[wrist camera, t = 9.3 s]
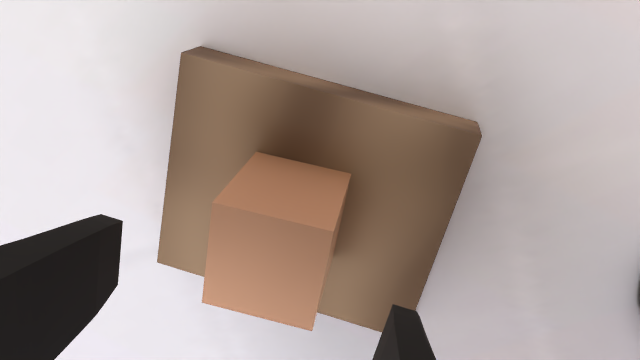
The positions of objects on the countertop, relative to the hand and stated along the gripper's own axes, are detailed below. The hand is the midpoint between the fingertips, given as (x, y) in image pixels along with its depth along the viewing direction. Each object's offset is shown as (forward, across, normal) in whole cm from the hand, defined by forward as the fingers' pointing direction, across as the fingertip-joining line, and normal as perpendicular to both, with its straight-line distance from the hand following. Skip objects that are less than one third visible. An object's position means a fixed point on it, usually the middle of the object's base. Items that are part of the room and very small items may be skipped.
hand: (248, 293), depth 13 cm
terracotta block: (+9, 0, +2) cm, 9 cm away
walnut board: (+11, 0, +2) cm, 11 cm away
